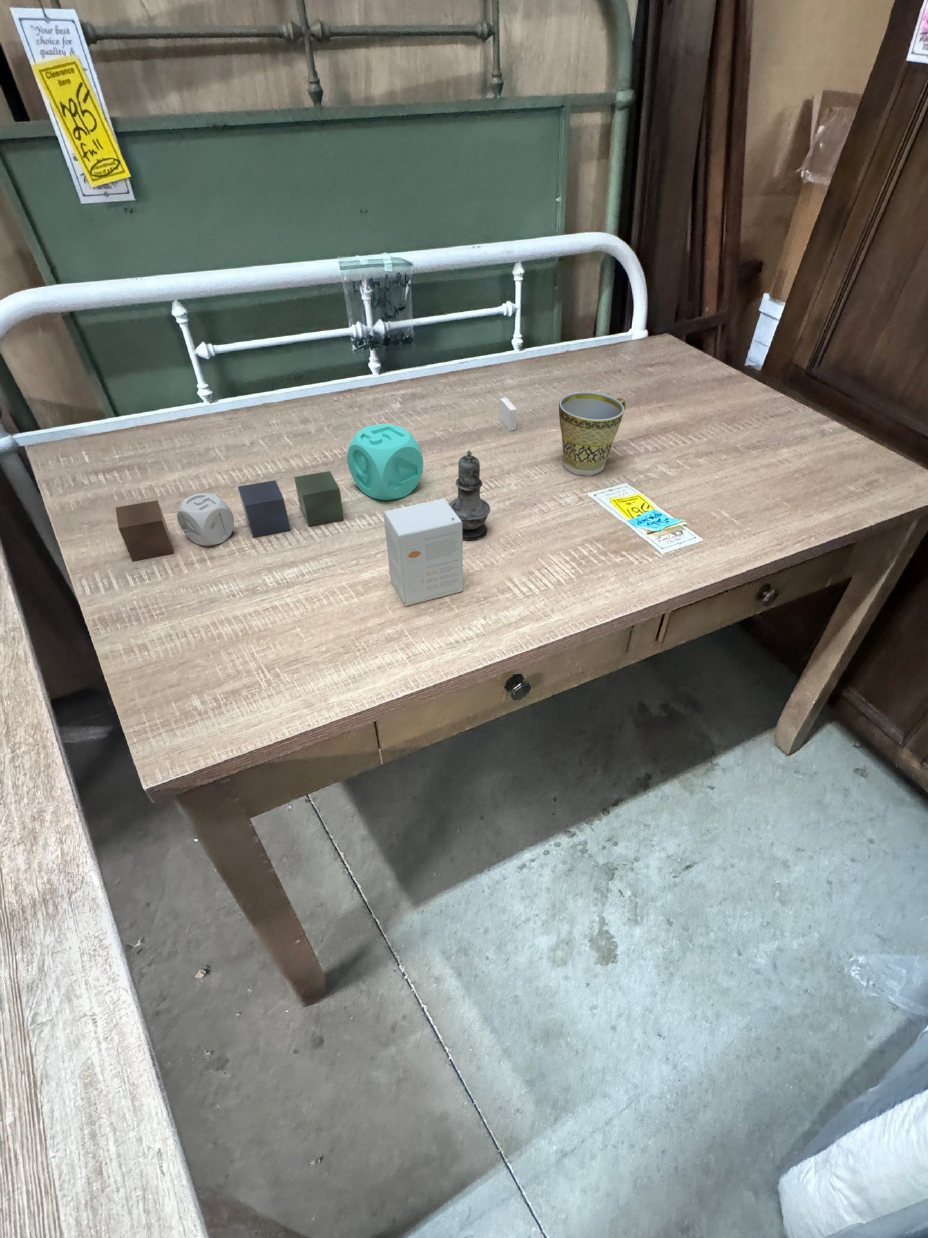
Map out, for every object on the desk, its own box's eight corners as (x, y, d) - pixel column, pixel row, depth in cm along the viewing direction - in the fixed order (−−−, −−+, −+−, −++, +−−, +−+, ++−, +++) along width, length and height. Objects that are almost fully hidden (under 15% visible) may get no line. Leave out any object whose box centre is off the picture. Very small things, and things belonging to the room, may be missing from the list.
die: (209, 550, 90) (198, 517, 86) (183, 537, 92) (171, 504, 88) (238, 533, 93) (229, 500, 89) (212, 521, 95) (202, 488, 91)
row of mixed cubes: (132, 561, 87) (118, 527, 84) (129, 540, 91) (115, 507, 87) (344, 519, 97) (339, 488, 93) (334, 502, 100) (329, 470, 96)
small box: (447, 567, 90) (445, 496, 83) (464, 592, 87) (464, 520, 79) (389, 581, 88) (381, 509, 80) (404, 607, 84) (398, 535, 77)
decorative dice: (425, 487, 104) (423, 437, 98) (384, 506, 100) (379, 455, 94) (391, 467, 107) (386, 418, 101) (349, 485, 103) (343, 434, 97)
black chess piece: (458, 545, 94) (457, 465, 85) (441, 523, 97) (439, 444, 89) (496, 536, 96) (499, 456, 87) (478, 515, 99) (480, 436, 91)
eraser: (505, 417, 122) (506, 397, 119) (515, 430, 119) (517, 409, 116) (499, 418, 121) (499, 397, 119) (509, 431, 118) (510, 410, 116)
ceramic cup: (583, 488, 106) (592, 426, 99) (540, 462, 111) (545, 401, 104) (638, 464, 113) (650, 404, 105) (595, 440, 118) (604, 381, 110)
